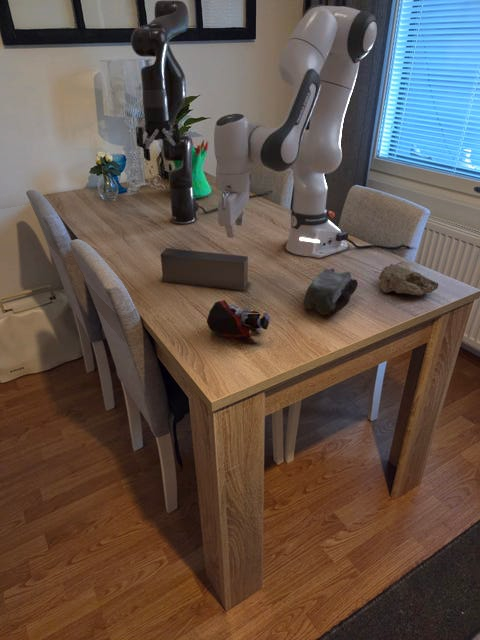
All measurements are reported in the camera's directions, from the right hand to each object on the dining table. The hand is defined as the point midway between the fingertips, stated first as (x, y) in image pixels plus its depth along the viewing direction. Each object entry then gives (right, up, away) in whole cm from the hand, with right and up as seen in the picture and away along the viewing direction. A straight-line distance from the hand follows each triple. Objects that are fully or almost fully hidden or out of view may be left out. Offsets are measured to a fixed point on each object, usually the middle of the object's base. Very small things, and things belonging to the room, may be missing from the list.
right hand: (235, 230), depth 126 cm
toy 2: (+1, -30, -15) cm, 33 cm away
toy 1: (-23, +35, +90) cm, 100 cm away
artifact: (+50, -16, +8) cm, 53 cm away
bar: (-9, -14, +11) cm, 20 cm away
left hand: (-25, +28, +21) cm, 43 cm away
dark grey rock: (+27, -21, 0) cm, 34 cm away
